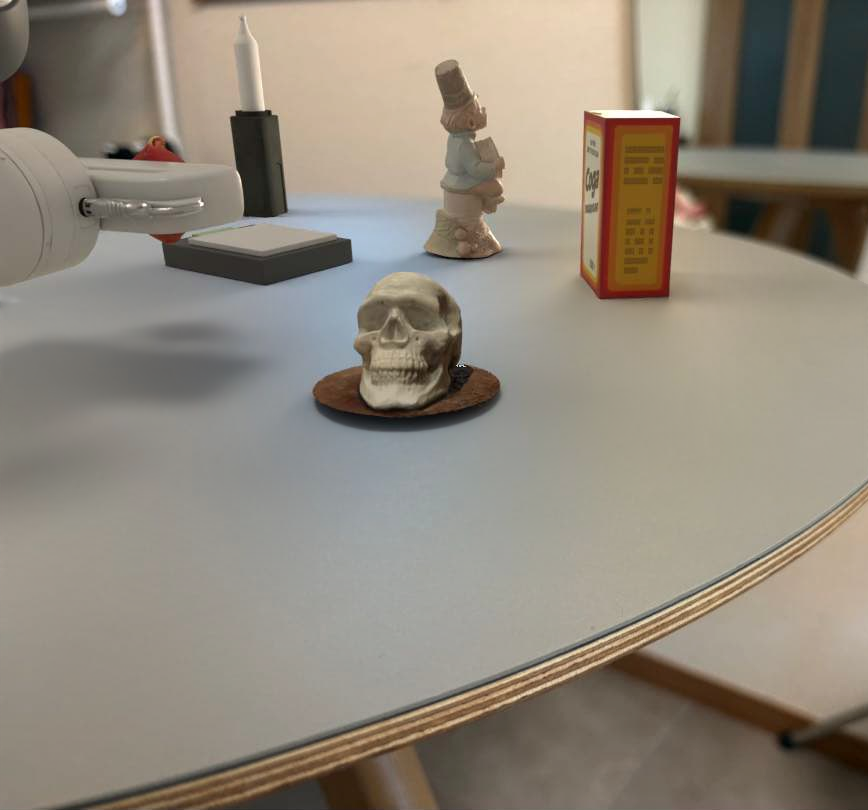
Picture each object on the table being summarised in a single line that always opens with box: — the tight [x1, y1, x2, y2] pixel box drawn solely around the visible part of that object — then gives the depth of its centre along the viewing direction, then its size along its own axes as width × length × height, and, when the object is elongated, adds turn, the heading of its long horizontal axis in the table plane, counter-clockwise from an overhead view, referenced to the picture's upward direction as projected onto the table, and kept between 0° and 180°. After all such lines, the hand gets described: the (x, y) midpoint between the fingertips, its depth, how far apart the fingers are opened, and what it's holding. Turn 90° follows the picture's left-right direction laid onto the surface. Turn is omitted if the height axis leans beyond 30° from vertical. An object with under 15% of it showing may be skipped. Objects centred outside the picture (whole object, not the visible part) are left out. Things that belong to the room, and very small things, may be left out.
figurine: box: [422, 58, 507, 259], centre depth 91 cm, size 9×8×20 cm
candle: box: [229, 13, 289, 218], centre depth 112 cm, size 5×5×25 cm
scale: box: [161, 222, 354, 286], centre depth 89 cm, size 15×12×3 cm
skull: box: [312, 271, 501, 419], centre depth 55 cm, size 12×10×10 cm
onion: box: [131, 135, 187, 244], centre depth 64 cm, size 6×6×8 cm
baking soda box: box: [579, 109, 682, 300], centre depth 79 cm, size 10×6×16 cm
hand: (166, 176), depth 65 cm, fingers closed on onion, 5 cm apart
